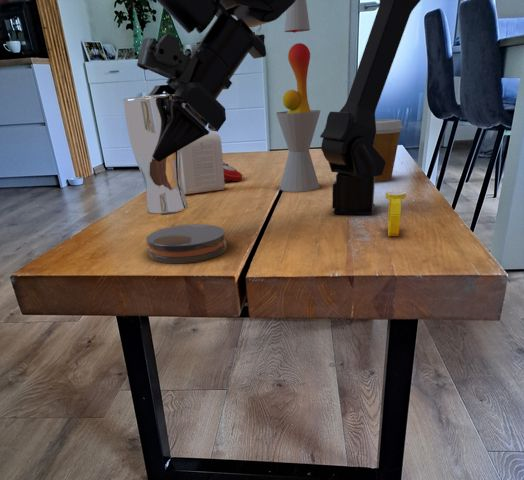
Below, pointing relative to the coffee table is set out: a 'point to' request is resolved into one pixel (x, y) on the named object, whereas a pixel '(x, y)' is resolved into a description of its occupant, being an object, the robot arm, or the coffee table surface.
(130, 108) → the beer glass
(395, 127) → the disposable coffee cup
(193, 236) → the coaster stack
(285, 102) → the lava lamp
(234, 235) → the coffee table surface
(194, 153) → the photo printer
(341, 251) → the coffee table surface
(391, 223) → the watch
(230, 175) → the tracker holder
